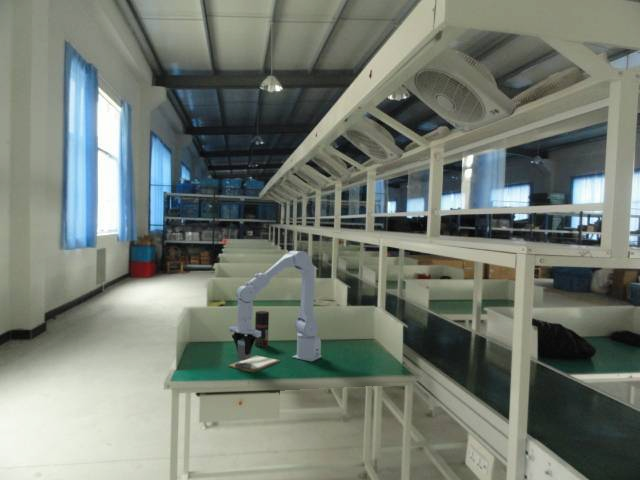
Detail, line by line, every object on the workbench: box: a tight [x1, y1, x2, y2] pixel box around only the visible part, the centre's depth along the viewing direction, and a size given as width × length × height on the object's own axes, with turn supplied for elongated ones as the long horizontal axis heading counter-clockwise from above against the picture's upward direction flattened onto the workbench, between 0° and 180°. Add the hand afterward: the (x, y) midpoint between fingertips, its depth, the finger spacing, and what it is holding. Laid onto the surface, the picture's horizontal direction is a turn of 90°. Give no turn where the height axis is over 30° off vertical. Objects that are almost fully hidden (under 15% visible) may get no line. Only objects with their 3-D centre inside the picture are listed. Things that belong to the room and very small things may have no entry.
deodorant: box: [254, 310, 270, 348], centre depth 185 cm, size 6×6×15 cm
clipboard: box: [228, 354, 281, 373], centre depth 157 cm, size 12×16×2 cm
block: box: [236, 339, 251, 361], centre depth 156 cm, size 4×4×7 cm
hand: (243, 353), depth 156 cm, fingers closed on block, 3 cm apart
